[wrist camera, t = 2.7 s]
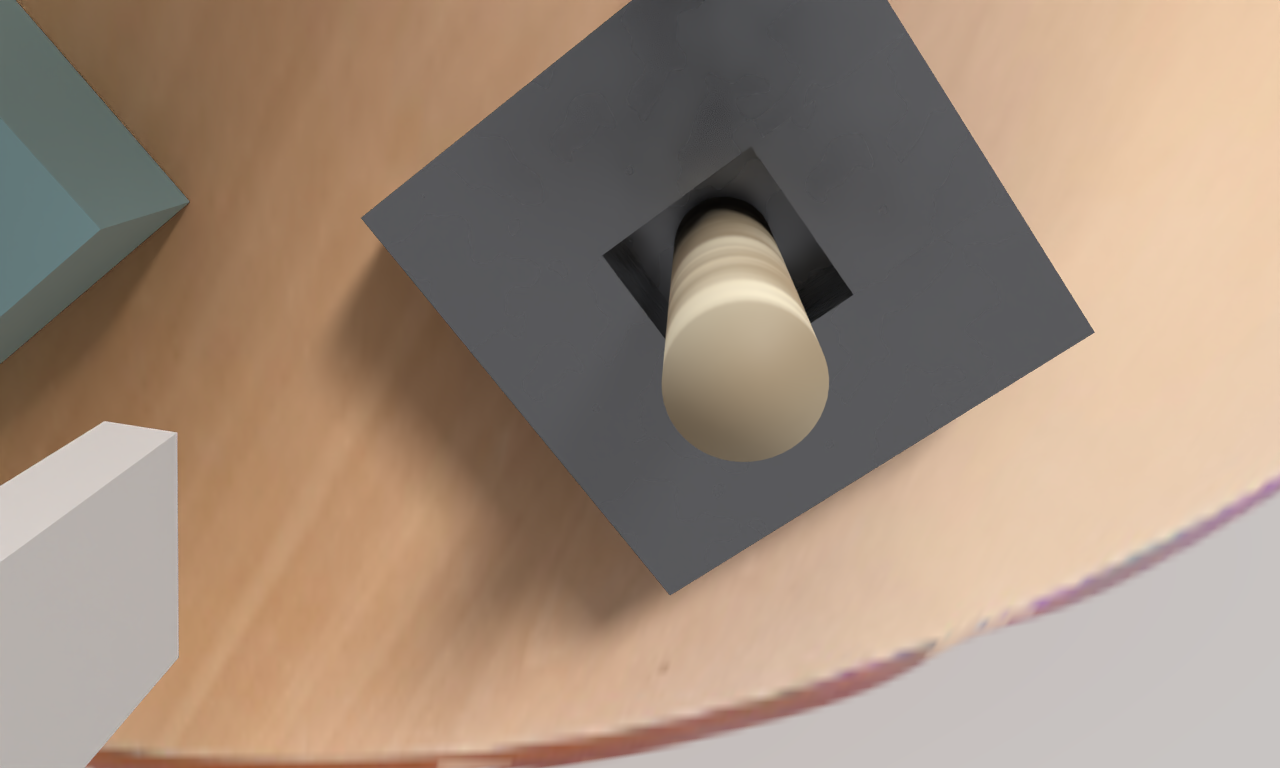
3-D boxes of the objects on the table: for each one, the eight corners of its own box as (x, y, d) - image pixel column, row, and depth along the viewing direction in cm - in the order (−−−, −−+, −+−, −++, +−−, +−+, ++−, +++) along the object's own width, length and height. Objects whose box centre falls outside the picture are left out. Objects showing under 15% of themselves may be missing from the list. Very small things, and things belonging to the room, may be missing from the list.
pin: (654, 235, 30) (628, 367, 18) (735, 176, 29) (767, 271, 17) (711, 312, 31) (724, 490, 18) (792, 256, 30) (861, 403, 18)
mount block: (411, 191, 31) (360, 217, 26) (783, -105, 28) (801, -137, 23) (673, 519, 34) (670, 595, 29) (1033, 288, 31) (1094, 332, 26)
